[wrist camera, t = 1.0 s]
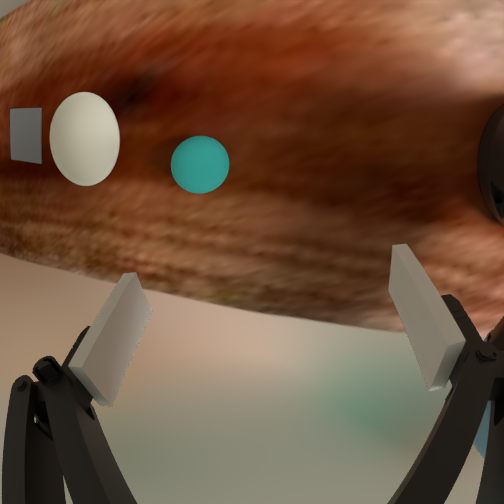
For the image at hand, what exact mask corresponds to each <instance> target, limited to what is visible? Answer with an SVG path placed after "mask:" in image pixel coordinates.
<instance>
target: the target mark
mask: <svg viewBox="0 0 504 504" xmlns="http://www.w3.org/2000/svg"><path fill="white" fill-rule="evenodd" d="M50 147H51V152H52V155H53V158H54V161H55V163H56V165H57V167H58V169H59V170H60V171H61V173H62V174H63V175H64V176H65V177H66V178H67V179H68V180H70V181H71V182H73V183H75V184H78V185H82V186H90V185H94V184H97V183H99V182H101V181H102V180H104V179H105V178H106V177H107V176H108V175H109V174H110V172H111V171H112V169H113V167H114V165H115V163H116V161H117V158H118V153H119V147H120V133H119V127H118V123H117V120H116V117H115V115H114V112H113V111H112V109H111V107H110V106H109V105H108V103H107V102H106V101H105V100H104V99H102V98H101V97H100V96H98V95H96V94H93V93H90V92H80V93H76V94H73V95H71V96H69V97H68V98H66V99H65V100H64V101H63V102H62V103H61V104H60V106H59V107H58V109H57V110H56V112H55V114H54V117H53V119H52V123H51V128H50Z"/></svg>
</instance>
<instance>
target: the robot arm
mask: <svg viewBox="0 0 504 504" xmlns="http://www.w3.org/2000/svg"><path fill="white" fill-rule="evenodd" d="M478 178H479V184H480V189H481V193H482V196H483V199H484V201H485V203H486V205H487V207H488V209H489V210H490V212H491V213H492V215H493V216H494V217H495V218H496V219H497V220H498V221H499V222H500V223H501V224H502V225H504V105H502V106H501V107H500V108H499V109H498V110H497V111H496V112H495V113H494V114H493V116H492V117H491V118H490V120H489V122H488V124H487V126H486V128H485V130H484V133H483V136H482V139H481V143H480V147H479V154H478ZM388 291H389V293H390V295H391V298H392V300H393V302H394V304H395V307H396V309H397V311H398V314H399V316H400V318H401V321H402V323H403V325H404V328H405V330H406V333H407V335H408V337H409V340H410V342H411V345H412V347H413V350H414V353H415V355H416V358H417V361H418V363H419V366H420V369H421V371H422V374H423V377H424V380H425V383H426V386H427V388H428V391H433V390H437V389H440V388H444V387H445V386H446V384H447V382H448V380H449V379H450V381H451V384H452V388H451V390H450V392H449V394H448V396H447V398H446V399H445V404H444V406H443V408H442V410H441V412H440V415H439V417H438V419H437V421H436V423H435V425H434V427H433V429H432V431H431V433H430V435H429V437H428V439H427V441H426V443H425V444H424V446H423V448H422V450H421V452H420V454H419V455H418V457H417V459H416V460H415V462H414V464H413V466H412V467H411V469H410V470H409V472H408V474H407V475H406V477H405V478H404V480H403V481H402V483H401V485H400V486H399V488H398V489H397V491H396V492H395V494H394V495H393V497H392V498H391V499H390V501H389V502H388V504H444V502H445V501H446V499H447V497H448V495H449V493H450V491H451V490H452V487H453V486H454V484H455V482H456V480H457V478H458V476H459V474H460V472H461V469H462V467H463V465H464V463H465V461H466V458H467V456H468V454H469V451H470V449H471V447H472V444H474V446H475V447H476V449H477V451H478V452H479V453H480V454H481V456H482V457H483V458H484V459H485V461H484V467H483V472H482V477H481V482H480V487H479V492H478V496H477V500H476V504H504V316H503V318H502V319H501V320H500V322H499V323H498V324H497V326H496V327H495V328H494V330H492V331H490V332H489V333H488V334H487V336H486V338H485V339H484V341H483V340H482V338H481V337H480V335H479V333H478V331H477V330H476V328H475V326H474V325H473V323H472V321H471V320H470V318H469V317H468V315H467V313H466V311H464V308H463V307H462V305H461V303H460V302H459V301H458V300H457V299H456V298H455V297H453V296H452V295H451V294H448V295H442V296H440V294H439V293H438V291H437V289H436V288H435V286H434V285H433V283H432V281H431V280H430V278H429V277H428V275H427V274H426V272H425V270H424V269H423V267H422V266H421V264H420V263H419V261H418V260H417V258H416V257H415V255H414V254H413V252H412V251H411V249H410V248H409V247H408V245H407V244H399V245H392V258H391V269H390V279H389V288H388ZM151 314H152V310H151V308H150V306H149V303H148V301H147V299H146V296H145V294H144V292H143V289H142V287H141V284H140V282H139V279H138V277H137V275H136V272H134V273H124V274H123V275H122V277H121V278H120V280H119V282H118V283H117V285H116V286H115V288H114V289H113V291H112V292H111V294H110V296H109V297H108V299H107V300H106V302H105V303H104V305H103V307H102V308H101V310H100V312H99V313H98V315H97V316H96V318H95V320H94V321H93V323H92V325H91V326H88V327H86V328H85V329H84V330H83V331H82V332H81V333H80V335H79V337H78V338H77V340H76V342H75V344H74V345H73V348H72V349H71V350H70V352H69V354H68V356H67V357H66V359H65V361H64V363H63V365H62V366H60V365H59V364H58V362H57V361H56V359H55V358H54V357H52V356H46V357H43V358H41V359H40V360H39V361H38V362H37V363H36V364H35V365H34V367H33V372H32V373H33V374H34V375H35V376H36V378H37V379H38V380H39V381H37V382H33V380H32V379H31V378H30V377H29V376H27V375H23V376H21V377H19V378H18V379H16V380H15V382H14V383H13V385H12V389H11V394H10V400H9V406H8V413H7V420H6V429H5V438H4V449H3V464H2V504H66V500H65V491H64V482H63V476H64V479H65V482H66V485H67V488H68V491H69V493H70V496H71V499H72V502H73V504H137V502H136V500H135V499H134V497H133V495H132V493H131V491H130V489H129V488H128V486H127V483H126V482H125V480H124V478H123V475H122V473H121V472H120V469H119V467H118V465H117V463H116V461H115V459H114V456H113V454H112V452H111V450H110V447H109V445H108V443H107V440H106V438H105V436H104V433H103V431H102V428H101V426H100V423H99V420H98V418H97V415H96V412H95V410H94V407H93V406H92V405H91V401H92V398H94V400H95V401H96V402H97V403H98V404H99V405H102V406H108V407H113V404H114V402H115V399H116V397H117V394H118V392H119V389H120V387H121V384H122V381H123V379H124V377H125V374H126V372H127V369H128V367H129V365H130V362H131V360H132V357H133V355H134V353H135V350H136V348H137V345H138V343H139V341H140V339H141V336H142V334H143V332H144V329H145V327H146V324H147V323H148V320H149V318H150V316H151ZM34 417H35V418H36V423H35V422H34Z"/></svg>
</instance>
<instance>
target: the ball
mask: <svg viewBox="0 0 504 504" xmlns="http://www.w3.org/2000/svg"><path fill="white" fill-rule="evenodd" d="M171 171H172V175H173V177H174V179H175V181H176V182H177V183H178V185H179V186H180V187H182V188H183V189H185V190H187V191H189V192H192V193H207V192H210V191H213V190H214V189H216V188H217V187H219V186H220V185H221V184H222V183H223V181H224V180H225V178H226V177H227V174H228V171H229V157H228V154H227V152H226V150H225V148H224V147H223V146H222V144H220V143H219V142H218V141H217V140H215V139H213V138H211V137H207V136H194V137H191V138H188V139H186V140H185V141H183V142H182V143H181V144H180V145H179V146H178V147H177V148H176V150H175V151H174V153H173V156H172V159H171Z"/></svg>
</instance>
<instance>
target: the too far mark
mask: <svg viewBox="0 0 504 504" xmlns="http://www.w3.org/2000/svg"><path fill="white" fill-rule="evenodd" d="M10 147H11V159H12V160H19V161H26V162H32V163H39V164H42V108H17V109H10Z"/></svg>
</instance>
